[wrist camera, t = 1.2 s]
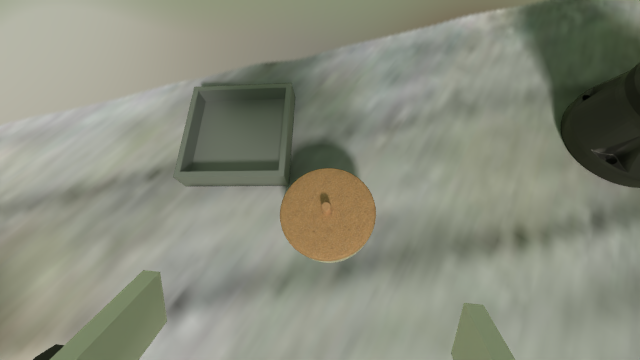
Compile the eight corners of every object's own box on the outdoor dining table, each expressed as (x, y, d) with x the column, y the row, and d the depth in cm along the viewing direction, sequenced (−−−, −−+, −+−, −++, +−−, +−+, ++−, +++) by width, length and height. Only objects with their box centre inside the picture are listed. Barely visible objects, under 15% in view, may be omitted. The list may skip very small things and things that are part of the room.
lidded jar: (275, 231, 41) (256, 211, 33) (327, 176, 44) (322, 144, 35) (334, 287, 38) (330, 281, 29) (387, 224, 40) (398, 201, 32)
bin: (295, 97, 50) (291, 82, 47) (288, 185, 44) (283, 175, 41) (204, 100, 51) (194, 86, 48) (185, 186, 45) (173, 177, 42)
